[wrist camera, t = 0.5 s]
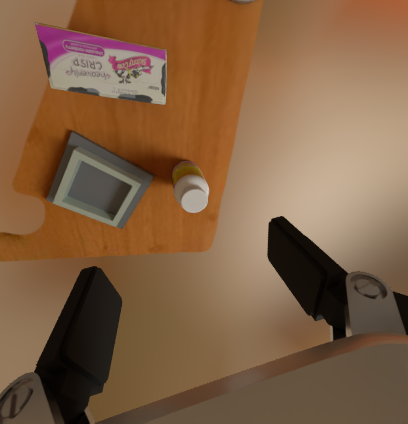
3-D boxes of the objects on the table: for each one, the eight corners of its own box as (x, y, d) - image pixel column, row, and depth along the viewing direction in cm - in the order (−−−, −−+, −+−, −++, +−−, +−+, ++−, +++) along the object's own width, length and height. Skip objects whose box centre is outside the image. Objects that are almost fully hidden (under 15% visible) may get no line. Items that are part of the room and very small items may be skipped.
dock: (74, 131, 33) (65, 134, 30) (154, 175, 40) (153, 181, 37) (48, 197, 38) (39, 206, 36) (123, 226, 46) (120, 235, 43)
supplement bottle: (166, 167, 40) (168, 192, 29) (194, 155, 40) (206, 176, 29) (178, 192, 44) (184, 222, 33) (204, 181, 43) (218, 209, 33)
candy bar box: (166, 69, 31) (169, 47, 17) (165, 103, 33) (167, 107, 20) (93, 55, 28) (29, 18, 15) (98, 93, 31) (49, 91, 17)
